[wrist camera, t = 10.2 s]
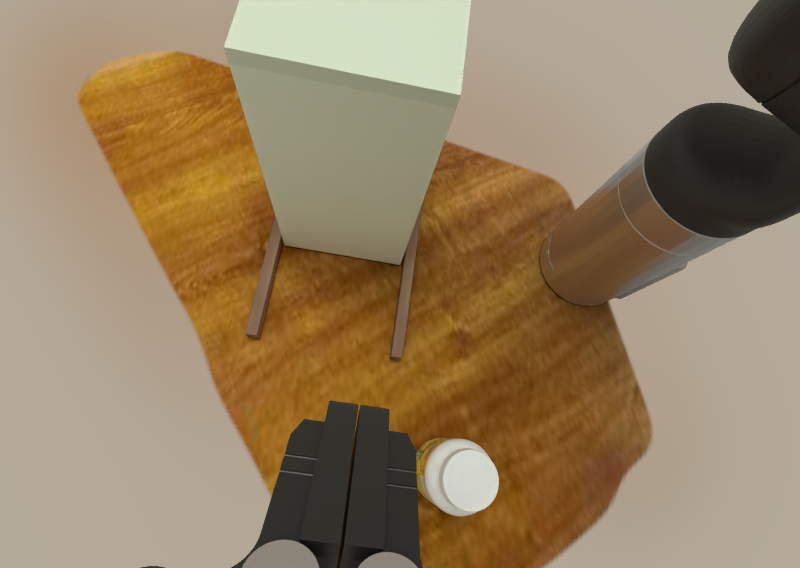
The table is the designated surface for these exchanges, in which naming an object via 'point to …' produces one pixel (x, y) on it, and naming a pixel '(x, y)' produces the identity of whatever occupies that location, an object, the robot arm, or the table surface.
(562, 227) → the robot arm
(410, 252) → the rails
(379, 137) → the hood
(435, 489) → the supplement bottle
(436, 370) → the table surface
